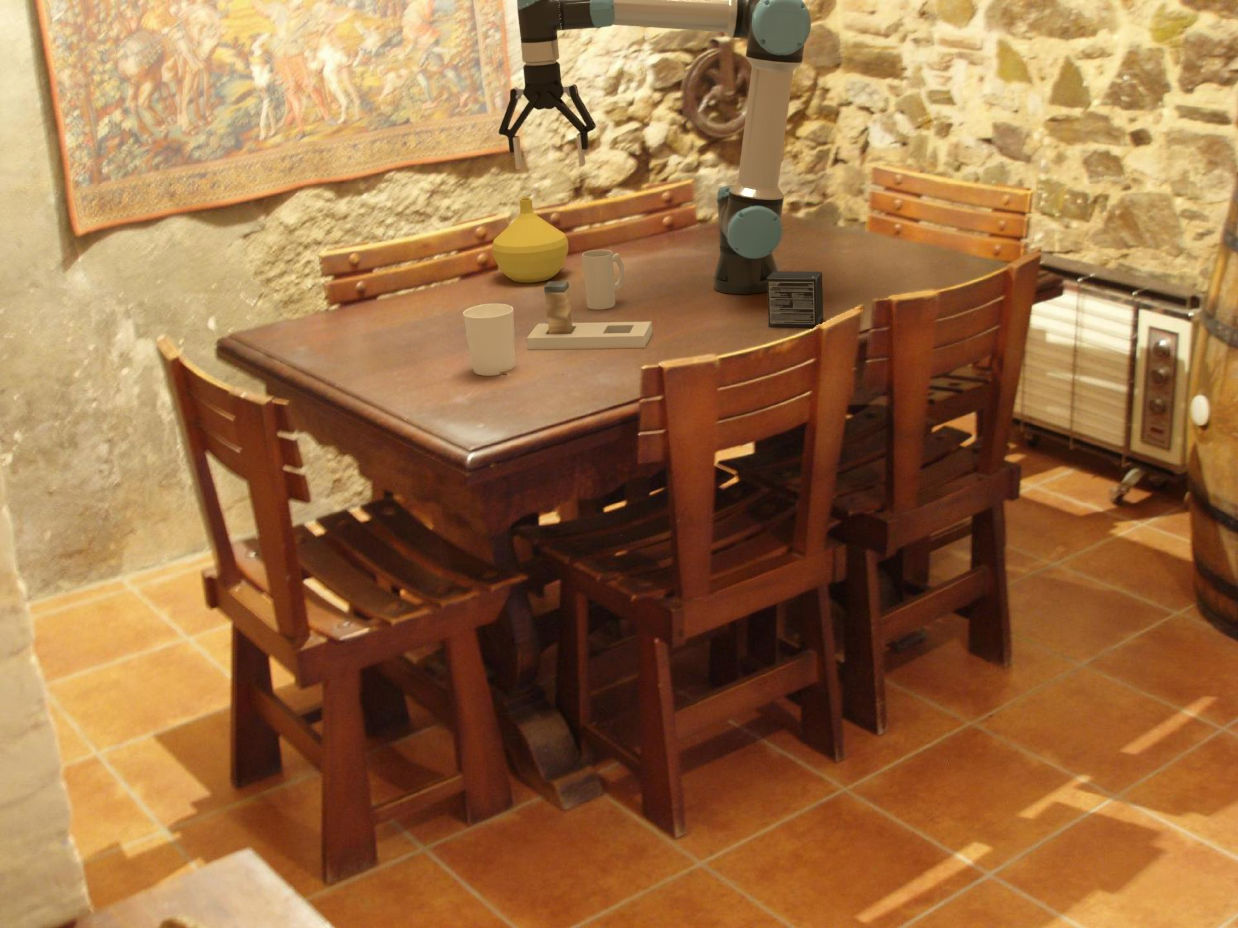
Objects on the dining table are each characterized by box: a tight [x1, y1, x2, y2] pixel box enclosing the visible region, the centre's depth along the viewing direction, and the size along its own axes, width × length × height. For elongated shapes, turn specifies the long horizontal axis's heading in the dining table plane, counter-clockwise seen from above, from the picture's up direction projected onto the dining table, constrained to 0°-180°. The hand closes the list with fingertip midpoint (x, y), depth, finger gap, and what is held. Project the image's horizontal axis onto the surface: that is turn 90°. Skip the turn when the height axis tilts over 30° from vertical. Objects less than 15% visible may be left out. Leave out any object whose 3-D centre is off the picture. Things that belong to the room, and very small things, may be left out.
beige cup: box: [462, 303, 516, 377], centre depth 278 cm, size 10×10×12 cm
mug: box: [581, 249, 625, 311], centre depth 316 cm, size 10×7×12 cm, turn 125°
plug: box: [544, 280, 573, 334], centre depth 290 cm, size 4×4×12 cm
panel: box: [526, 321, 653, 351], centre depth 291 cm, size 24×10×3 cm, turn 80°
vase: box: [491, 197, 569, 284], centre depth 342 cm, size 18×18×19 cm
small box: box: [766, 270, 824, 329], centre depth 293 cm, size 11×6×10 cm, turn 71°
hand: (550, 167), depth 299 cm, fingers open, 13 cm apart
